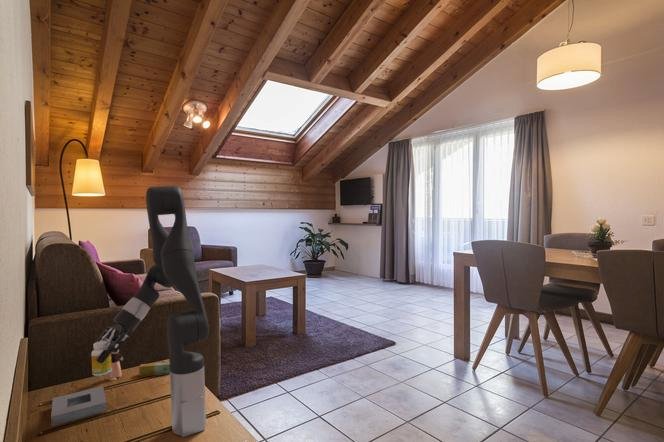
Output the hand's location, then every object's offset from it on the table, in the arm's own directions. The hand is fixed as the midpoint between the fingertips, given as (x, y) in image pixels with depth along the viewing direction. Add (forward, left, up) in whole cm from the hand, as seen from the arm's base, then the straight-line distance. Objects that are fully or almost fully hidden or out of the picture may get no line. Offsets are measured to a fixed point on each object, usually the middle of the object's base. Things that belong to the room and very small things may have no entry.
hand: (95, 359), depth 121 cm
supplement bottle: (+1, -2, -5) cm, 5 cm away
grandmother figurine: (+23, -7, -16) cm, 29 cm away
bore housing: (+3, +5, -16) cm, 17 cm away
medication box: (+18, -20, -16) cm, 31 cm away
